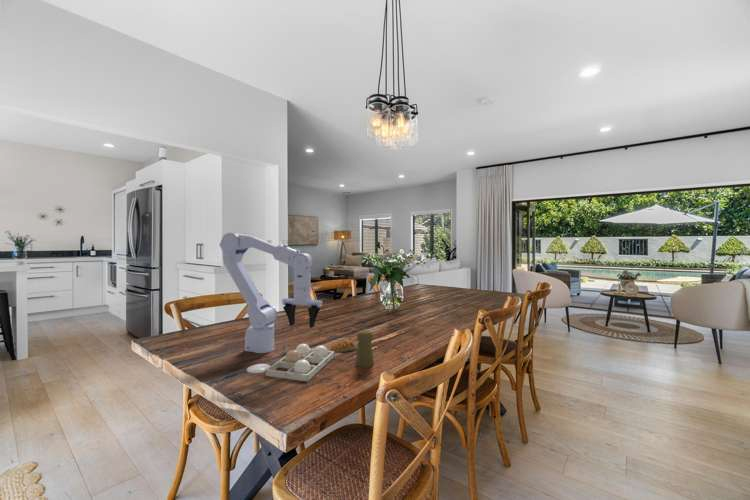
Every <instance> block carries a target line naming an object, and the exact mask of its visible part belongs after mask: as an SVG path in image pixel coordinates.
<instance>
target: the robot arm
mask: <svg viewBox="0 0 750 500" xmlns="http://www.w3.org/2000/svg"><path fill="white" fill-rule="evenodd" d="M219 247H220V248H221V251H222V261H223V264H224V266H225V268H226V270H227V271H228V273H229V274H230V277H231V278H232V281H233V282H234V283H235V286H236V287H237V289H238V290H239V293H240V295H241V296H242V298H243V299H244V301H245V303H246V304H247V311H246V314H247V316H248V321H249V324H250V325H249V327H247V328H246V329H245V335H244V352H245V351H246V352H251V353H256V354H266V353H267V354H268V353H270V352H273V351H274V350H275V321H276V320H277V317H278V312H277V309H276V308H275V307H274V306H272V305H271V303H270V302H269V301H268V300H266V299H265V298H263V297H262V295H261V293H260V292H259V290H258V288H257V286H256V285H255V282H254V281H253V279H252V278H251V275H250V274H249V272H248V270H247V268H246V267H245V265H244V263H243V262H242V260H243V258H244V255H245V254H246V252H247V251H248V250H249V248H250V249H251V248H253V249H256V250H258V251H261V252H265V253H268V254H269V255H271V256H273V259H274V260H276V261H279V262H281V263H283V264H285V265H288V266H290V267H291V268H293V298H286V297H285V298H282V300H281V304H282V306H283V305H284V306H283V307H282V309H283V310H284V312H285V314H286V316H287V319H288V323H289V326H291V327H292V326H294V325H295V323H296V322H295V320H296V317H295V316H296V309H297V306H304V307H305V306H306V307H308V308H307V310H308V315H309V328H314V327H315V325H316V324H315V323H316V319H317V316H318V315H319V314H318V313H319V312H320V309H321V307H322V308H323V300H320V299H319V300H318V299H317V300H316V299H314V298H313V299H311V286H312V285H311V283H312V282H311V280H312V279H311V277H312V276H311V267H312V265H313V262H314V259H313V257H312V255H311V254H309V253H308V252H301V249H293V248H292V247H290V246H289V245H288V244H286V243H284V244H279V245H275V244H272V243H270V242H267V241H266V240H263V239H261V238H259V237H256V236H254V235H251V234H247V233H246V232H245V233H244V232H241V233H236V232H235V233H234V232H227V233H225V234H223V236H222V237H221V239H220V242H219Z"/></svg>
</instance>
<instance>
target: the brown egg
mask: <svg viewBox="0 0 750 500" xmlns="http://www.w3.org/2000/svg"><path fill="white" fill-rule="evenodd" d="M284 357H285V361H286V362H290V363H296V362H297V361H299V360H300V359H301V355H300V353H299V352H298V351H296V349H292V350H289V351H288V352H287V353H286V354H285V356H284Z"/></svg>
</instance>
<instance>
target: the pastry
mask: <svg viewBox="0 0 750 500" xmlns="http://www.w3.org/2000/svg"><path fill="white" fill-rule="evenodd" d="M356 349H358V344H357V343H356V342H355V339H354V338H352V337H351V338H347V339H340V340H339V341H337V342H336V343H334V344H333V345H331V349H330V351H335V353H345V352H346V353H347V352H350V351H353V350H356Z"/></svg>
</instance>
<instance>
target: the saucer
mask: <svg viewBox="0 0 750 500" xmlns="http://www.w3.org/2000/svg"><path fill="white" fill-rule="evenodd" d="M270 366H271V365H270V364H267V363H258V364H257V363H256V364H253V365H251V366H248V367H247V369H246V372H248V373H251V374H261V373H265V369H267V368H268V367H270Z"/></svg>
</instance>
